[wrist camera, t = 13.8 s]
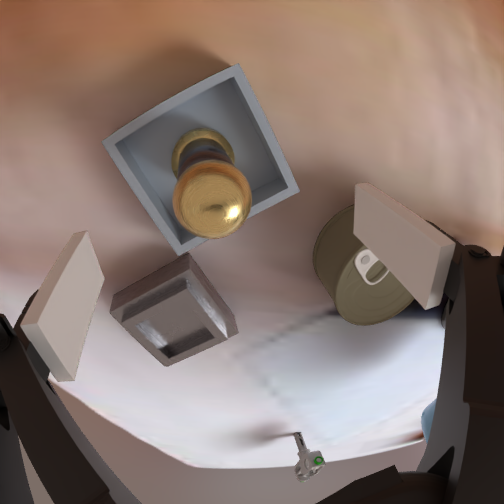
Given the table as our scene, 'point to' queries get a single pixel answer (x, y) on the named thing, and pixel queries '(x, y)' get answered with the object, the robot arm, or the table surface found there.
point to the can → (356, 275)
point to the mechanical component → (307, 460)
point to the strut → (208, 185)
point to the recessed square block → (174, 312)
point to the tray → (191, 117)
